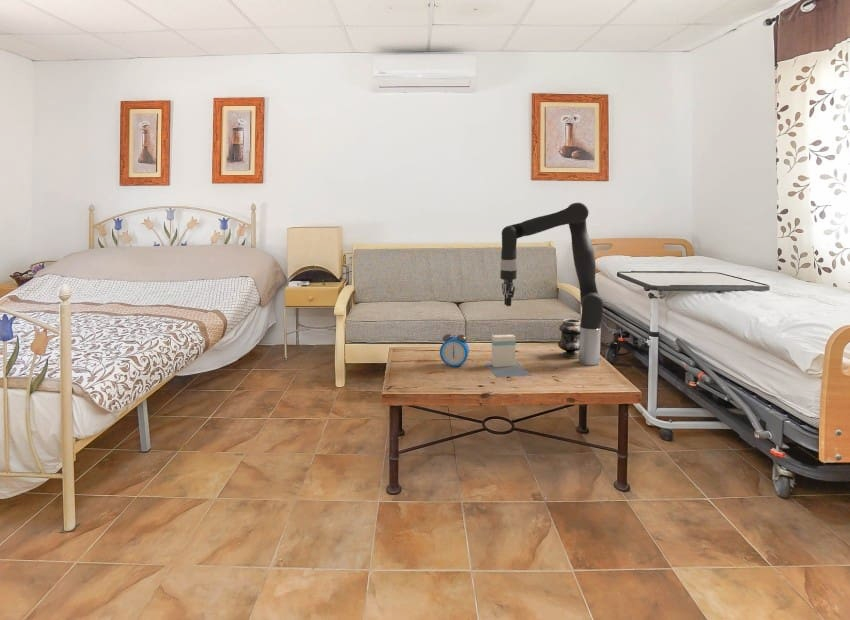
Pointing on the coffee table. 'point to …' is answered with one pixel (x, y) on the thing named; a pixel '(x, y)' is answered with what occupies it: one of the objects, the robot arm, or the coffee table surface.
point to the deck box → (503, 350)
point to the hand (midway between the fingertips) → (507, 305)
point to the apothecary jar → (570, 338)
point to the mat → (508, 370)
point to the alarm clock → (454, 350)
